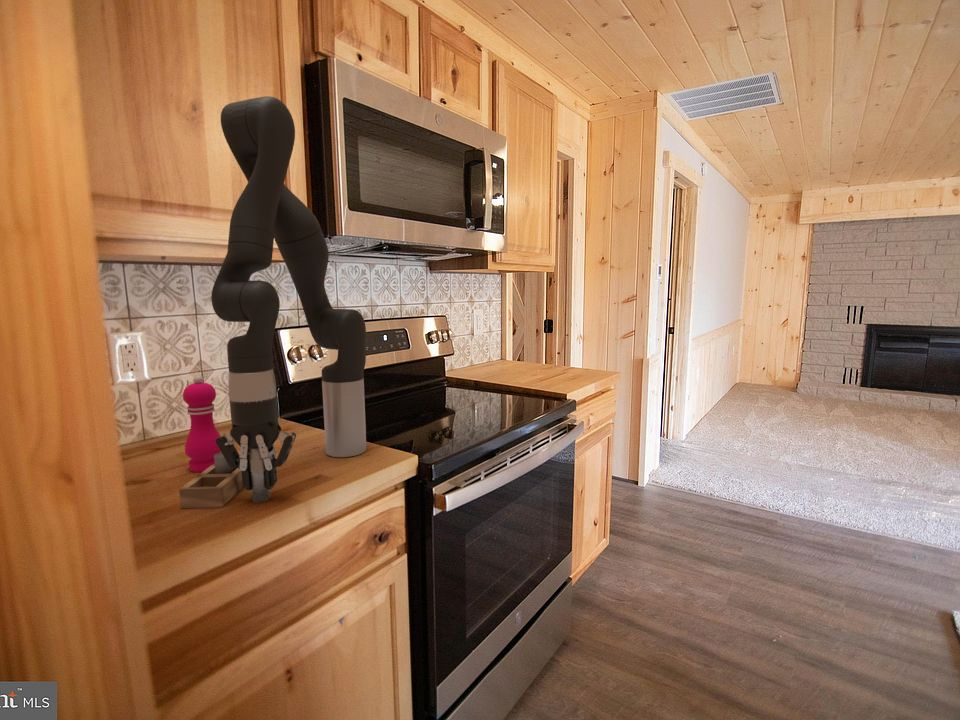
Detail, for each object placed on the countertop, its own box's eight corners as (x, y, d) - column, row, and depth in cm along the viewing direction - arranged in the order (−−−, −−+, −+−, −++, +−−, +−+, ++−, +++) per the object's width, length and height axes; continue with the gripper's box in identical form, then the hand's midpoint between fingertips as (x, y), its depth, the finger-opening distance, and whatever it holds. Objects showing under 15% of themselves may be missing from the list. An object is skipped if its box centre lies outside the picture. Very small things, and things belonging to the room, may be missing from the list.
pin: (256, 495, 89) (252, 443, 87) (272, 495, 89) (269, 443, 87) (249, 502, 86) (245, 449, 84) (266, 502, 86) (262, 448, 84)
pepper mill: (216, 458, 108) (209, 371, 105) (231, 465, 104) (223, 374, 101) (181, 467, 103) (172, 375, 100) (194, 476, 98) (185, 380, 95)
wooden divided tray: (214, 480, 95) (211, 449, 94) (250, 479, 96) (248, 448, 95) (181, 508, 84) (177, 472, 83) (222, 507, 84) (219, 471, 83)
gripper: (300, 390, 89) (305, 479, 91) (222, 391, 88) (230, 481, 90) (286, 399, 81) (293, 496, 84) (201, 400, 80) (210, 498, 83)
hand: (260, 487), depth 87 cm, fingers closed on pin, 3 cm apart
